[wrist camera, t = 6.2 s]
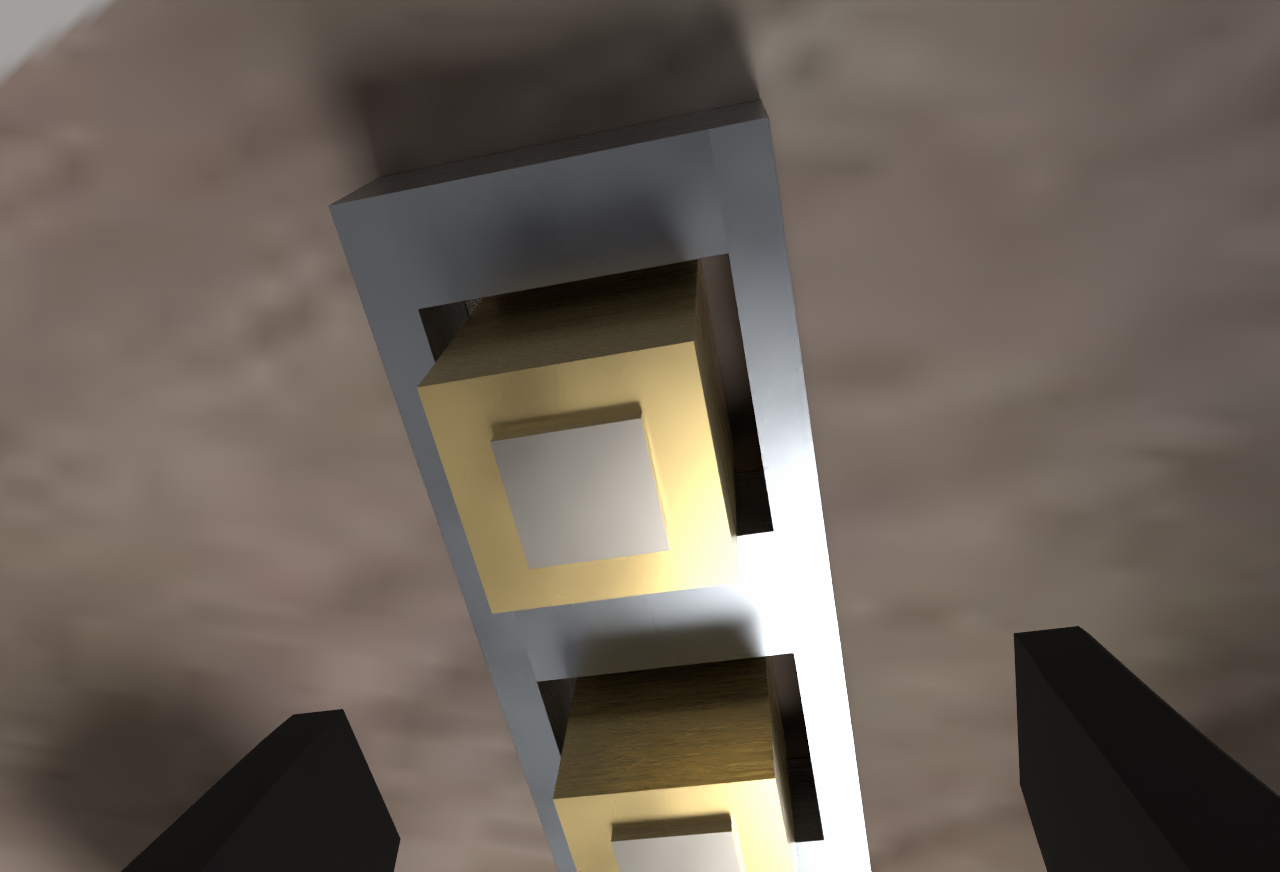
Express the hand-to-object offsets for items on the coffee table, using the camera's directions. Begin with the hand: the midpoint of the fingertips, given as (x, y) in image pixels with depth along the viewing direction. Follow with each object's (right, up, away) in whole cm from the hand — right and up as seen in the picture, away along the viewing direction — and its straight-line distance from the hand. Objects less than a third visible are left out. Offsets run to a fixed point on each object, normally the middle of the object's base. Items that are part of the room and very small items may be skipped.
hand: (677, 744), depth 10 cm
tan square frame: (+1, -2, +12) cm, 12 cm away
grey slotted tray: (0, +1, +10) cm, 10 cm away
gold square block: (-1, +5, +8) cm, 10 cm away
